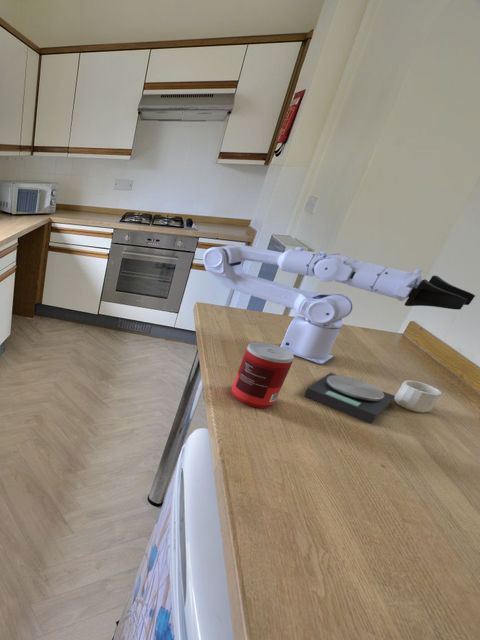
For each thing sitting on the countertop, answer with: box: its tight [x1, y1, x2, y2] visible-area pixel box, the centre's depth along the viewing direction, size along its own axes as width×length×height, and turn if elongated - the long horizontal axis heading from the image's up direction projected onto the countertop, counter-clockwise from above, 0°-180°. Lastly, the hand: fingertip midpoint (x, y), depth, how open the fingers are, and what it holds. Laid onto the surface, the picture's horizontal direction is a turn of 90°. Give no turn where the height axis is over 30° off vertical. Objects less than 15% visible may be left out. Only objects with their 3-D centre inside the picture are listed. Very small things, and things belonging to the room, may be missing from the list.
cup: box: [393, 379, 443, 413], centre depth 83 cm, size 5×5×4 cm
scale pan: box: [326, 374, 384, 401], centre depth 84 cm, size 9×9×1 cm
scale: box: [303, 372, 396, 424], centre depth 84 cm, size 11×13×2 cm
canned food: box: [231, 341, 295, 409], centre depth 82 cm, size 8×8×11 cm
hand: (468, 302), depth 80 cm, fingers open, 7 cm apart
